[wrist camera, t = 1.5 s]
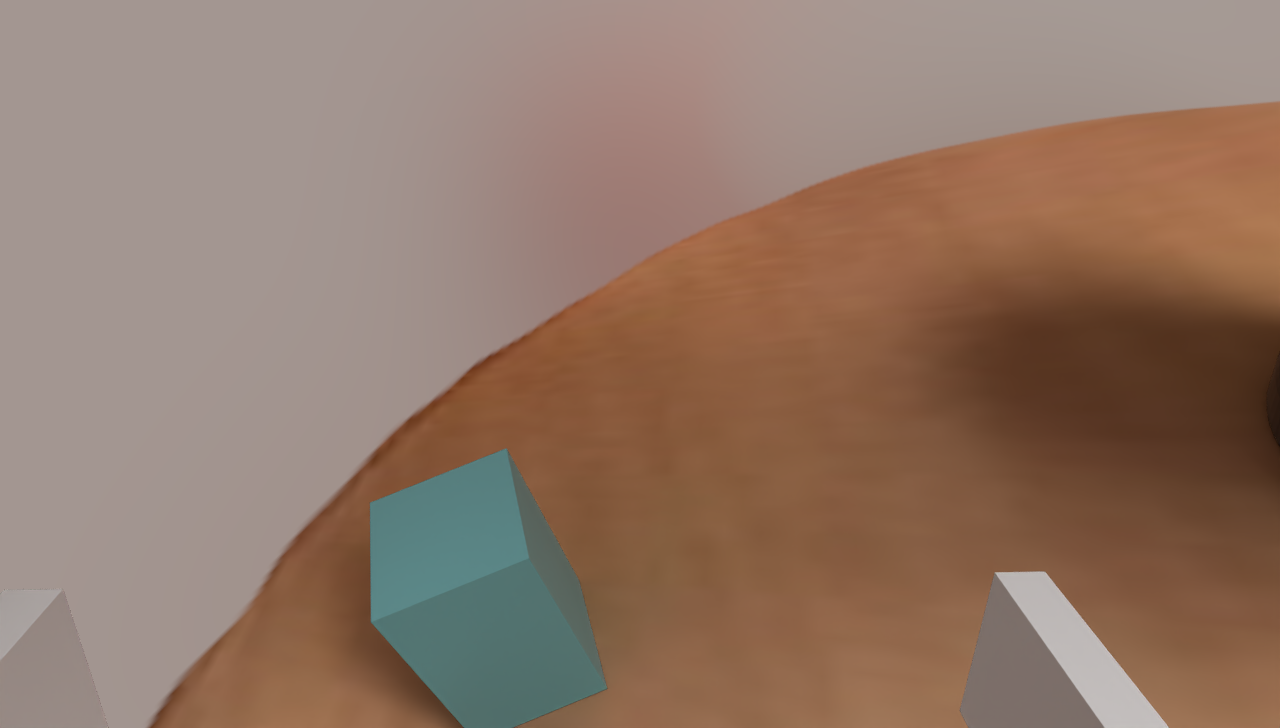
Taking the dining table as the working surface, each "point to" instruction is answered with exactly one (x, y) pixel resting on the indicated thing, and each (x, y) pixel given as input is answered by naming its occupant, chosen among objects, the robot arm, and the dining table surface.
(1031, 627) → the robot arm
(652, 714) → the dining table surface
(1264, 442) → the dining table surface
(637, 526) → the dining table surface
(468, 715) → the teal rectangular prism
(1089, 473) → the dining table surface
